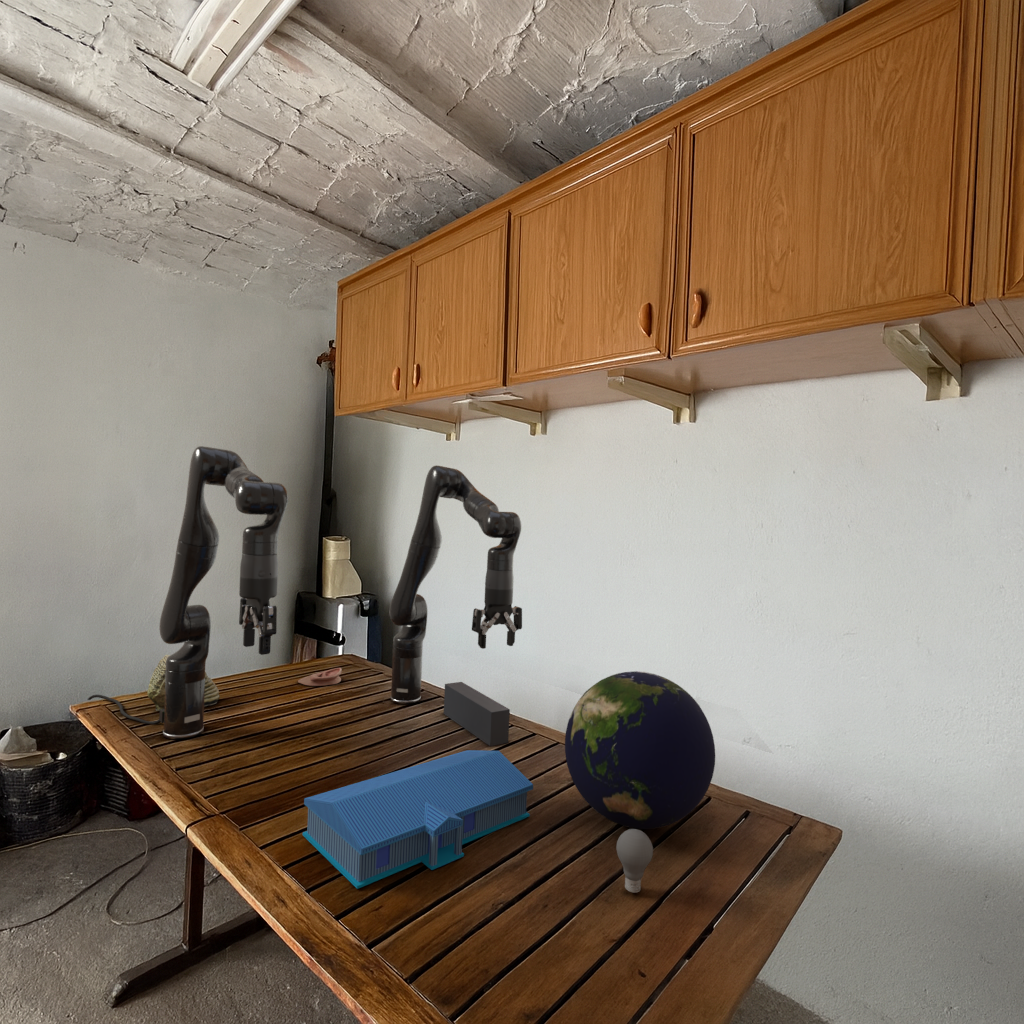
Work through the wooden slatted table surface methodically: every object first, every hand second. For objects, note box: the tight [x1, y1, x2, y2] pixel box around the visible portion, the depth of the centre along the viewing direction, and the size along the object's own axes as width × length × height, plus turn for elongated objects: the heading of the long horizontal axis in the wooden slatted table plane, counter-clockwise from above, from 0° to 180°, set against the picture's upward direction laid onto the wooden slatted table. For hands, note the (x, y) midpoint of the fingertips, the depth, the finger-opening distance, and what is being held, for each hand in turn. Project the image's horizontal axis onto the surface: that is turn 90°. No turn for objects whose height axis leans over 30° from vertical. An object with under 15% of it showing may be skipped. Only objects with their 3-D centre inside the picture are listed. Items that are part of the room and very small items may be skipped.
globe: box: [564, 670, 716, 830], centre depth 129 cm, size 30×30×30 cm
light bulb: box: [615, 828, 654, 894], centre depth 106 cm, size 6×6×10 cm
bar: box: [443, 681, 511, 747], centre depth 178 cm, size 28×6×9 cm, turn 32°
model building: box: [302, 749, 534, 890], centre depth 123 cm, size 39×24×10 cm, turn 132°
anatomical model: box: [297, 667, 343, 687], centre depth 214 cm, size 13×4×12 cm
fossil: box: [147, 654, 221, 712], centre depth 185 cm, size 9×18×15 cm, turn 132°
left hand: (256, 650), depth 136 cm, fingers open, 8 cm apart
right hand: (496, 646), depth 169 cm, fingers open, 8 cm apart
